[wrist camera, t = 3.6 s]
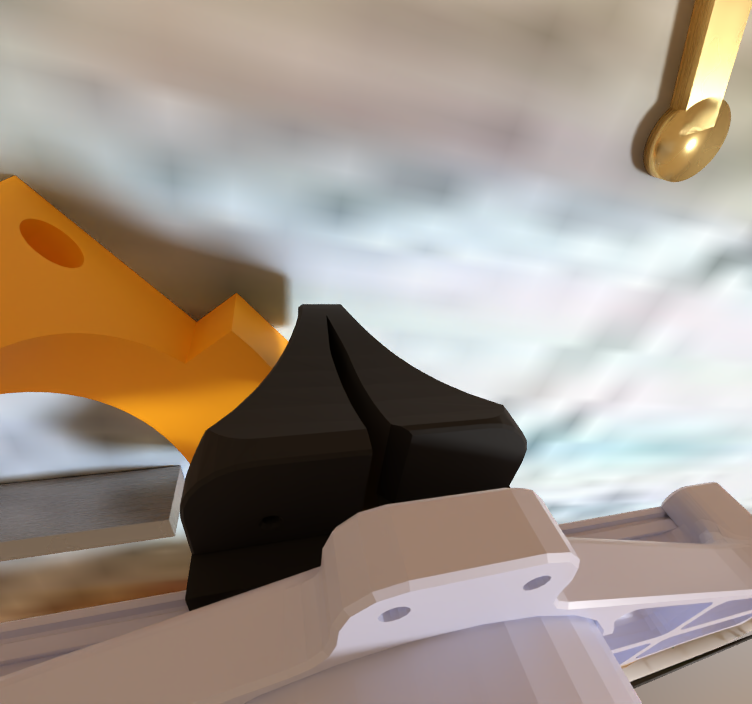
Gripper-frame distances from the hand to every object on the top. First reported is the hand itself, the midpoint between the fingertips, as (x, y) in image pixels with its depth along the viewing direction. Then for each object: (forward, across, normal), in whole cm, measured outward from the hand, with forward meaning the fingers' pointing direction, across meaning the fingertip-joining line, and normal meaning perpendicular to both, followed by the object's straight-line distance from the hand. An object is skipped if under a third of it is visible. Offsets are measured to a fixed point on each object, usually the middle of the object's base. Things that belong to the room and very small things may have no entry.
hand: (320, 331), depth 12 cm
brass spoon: (+2, -11, -9) cm, 14 cm away
